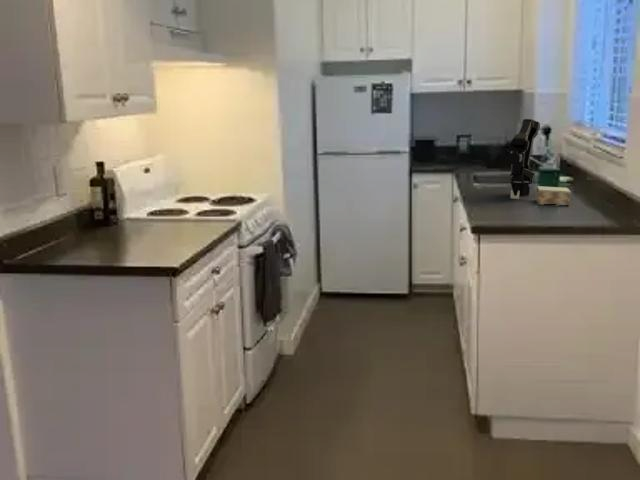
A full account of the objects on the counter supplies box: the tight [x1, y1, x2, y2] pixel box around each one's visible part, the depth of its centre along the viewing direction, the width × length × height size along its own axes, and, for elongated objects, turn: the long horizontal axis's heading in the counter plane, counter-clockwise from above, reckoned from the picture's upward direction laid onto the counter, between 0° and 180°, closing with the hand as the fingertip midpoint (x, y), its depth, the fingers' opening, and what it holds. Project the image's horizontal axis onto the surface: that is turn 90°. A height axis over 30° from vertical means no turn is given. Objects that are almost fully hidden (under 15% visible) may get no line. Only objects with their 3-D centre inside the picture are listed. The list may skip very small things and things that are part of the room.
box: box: [535, 187, 571, 205], centre depth 331 cm, size 14×14×6 cm
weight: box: [510, 189, 520, 200], centre depth 344 cm, size 4×4×4 cm
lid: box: [536, 185, 571, 193], centre depth 330 cm, size 14×14×1 cm
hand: (515, 194), depth 344 cm, fingers open, 9 cm apart
